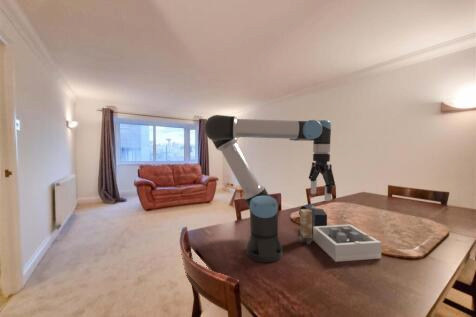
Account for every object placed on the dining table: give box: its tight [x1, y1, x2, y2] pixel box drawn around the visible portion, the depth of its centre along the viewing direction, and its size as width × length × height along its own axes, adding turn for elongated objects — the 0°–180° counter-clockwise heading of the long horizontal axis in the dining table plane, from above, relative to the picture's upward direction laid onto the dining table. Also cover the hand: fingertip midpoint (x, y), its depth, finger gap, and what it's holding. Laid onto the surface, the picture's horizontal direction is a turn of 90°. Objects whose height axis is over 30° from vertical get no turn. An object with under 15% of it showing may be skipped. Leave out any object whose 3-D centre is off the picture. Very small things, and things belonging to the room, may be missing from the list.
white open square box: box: [312, 224, 382, 263], centre depth 88 cm, size 19×19×7 cm
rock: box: [298, 203, 317, 216], centre depth 125 cm, size 11×10×10 cm
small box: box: [312, 208, 328, 230], centre depth 108 cm, size 11×6×10 cm, turn 168°
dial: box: [328, 227, 361, 243], centre depth 88 cm, size 13×14×6 cm
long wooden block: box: [298, 208, 314, 245], centre depth 95 cm, size 6×6×15 cm
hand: (320, 196), depth 97 cm, fingers open, 13 cm apart
